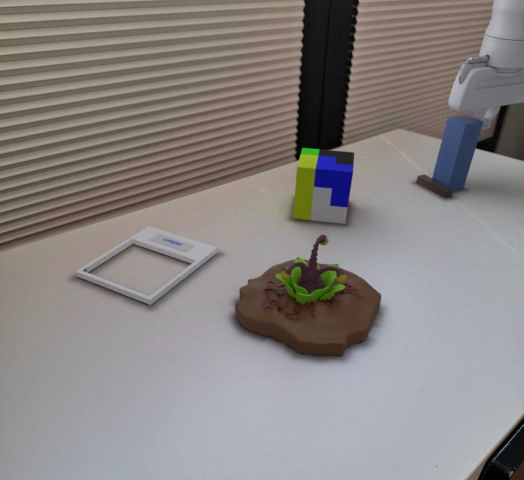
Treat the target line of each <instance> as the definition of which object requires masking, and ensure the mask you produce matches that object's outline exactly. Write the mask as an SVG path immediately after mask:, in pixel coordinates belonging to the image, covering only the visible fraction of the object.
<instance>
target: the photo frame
mask: <svg viewBox="0 0 524 480" xmlns="http://www.w3.org/2000/svg"><path fill="white" fill-rule="evenodd" d="M132 245H135V246H138V247H142V248H145V249H147V250H150V251H153V252H157V253H160V254H162V255H164V256H165V255H166V256H167V257H171V258H174V259H177V260H180V261H182V262H185V263H189V265H188V266H187V267H186V268H184V269H183V270H182V271H180V272H179V273H178V274H176V275H175V276H174V277H173V278H170V280H169V281H167V282H166V283H165V284H164V285H162V286H161V287H159V288H158V289H157V290H155V291H154V292H153V293H151V294H150V295H147V294H144V293H142V292H139V291H136V290H135V289H131V288H129V287H127V286H123V285H121V284H118V283H116V282H114V281H110V280H108V279H106V278H103V277H100V276H97V275H95V274H93V273H89V272H91V271H93V270H95V268H97V267H99V266H100V265H102V264H103V263H105V262H107V261H108V260H110V259H111V258H113V257H114V256H116V255H118V254H119V253H121V252H123V251H125V250H126V249H127V248H129V247H130V246H132ZM218 251H219V249H218V247H217V246H214V245H211V244H208V243H205V242H202V241H198V240H195V239H192V238H189V237H186V236H183V235H180V234H177V233H174V232H170V231H167V230H164V229H161V228H158V227H154V226H151V225H148V226H146V227H145V228H143V229H141V230H140V231H138V232H137V233H135V234H134V235H132V236H130V237H128V238H127V239H125V240H124V241H122V242H120V243H119V244H117V245H115V246H114V247H113V248H111V249H109V250H108V251H106V252H104V253H102V254H101V255H99V256H98V257H96V258H95V259H93V260H91V261H90V262H88V263H87V264H85V265H83V266H81V267H80V268H79V269H77V270H75V275H76V277H77V278H80V279H83V280H85V281H87V282H90V283H93V284H96V285H99V286H101V287H103V288H105V289H109V290H110V291H114V292H116V293H118V294H122V295H123V296H125V297H126V296H127V297H129V298H131V299H134V300H137V301H139V302H142V303H144V304H147V305H149V306H151V305H153V304H154V303H155V302H157V301H158V300H159V299H161V298H162V297H163V296H164V295H166V294H167V293H168V292H169V291H171V290H172V289H173V288H174V287H176V286H177V285H178V284H179V283H181V282H182V281H184V279H186V278H187V277H188V276H190V275H191V274H192V273H194V272H195V271H196V270H197V269H199V268H200V267H201V266H203V265H204V264H205V263H206V262H207V261H209V260H210V259H211V258H213V257H214V256H215V255H217V253H218Z"/></svg>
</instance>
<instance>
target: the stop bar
mask: <svg viewBox="0 0 524 480" xmlns="http://www.w3.org/2000/svg"><path fill="white" fill-rule="evenodd" d="M416 183H417V184H419V185H420V186H421V187H423V188H426V189H427V190H430V192H433V193H435V194H436V195H439V196H440V197H442V198H444V199H447V198H451V197H453V194H454V192H455V191H454V190H453V189H451V188H450V187H448V186H446V185H444V184H442V183H440V182H438V181H436V180H434V179H432V177H430V176H428V175H427V174H421V175H417V178H416Z"/></svg>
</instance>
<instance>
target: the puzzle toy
mask: <svg viewBox="0 0 524 480" xmlns="http://www.w3.org/2000/svg"><path fill="white" fill-rule="evenodd" d="M297 162H298V163H297V165H296V177H295V188H294V189H295V190H294V200H293V201H294V202H293V215H292V219H293V220H303V221H311V222H312V221H313V222H314V221H315V222H320V223H321V222H322V223H331V224H332V223H334V224H342V225H346V222H347V215H348V209H349V202H350V196H351V188H352V182H353V175H354V164H355V163H354V162H355V152H353V151H344V150H343V151H342V150H331V149H320V148H307V147H302V149H301V152H300V155H299V158H298V161H297Z"/></svg>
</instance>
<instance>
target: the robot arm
mask: <svg viewBox="0 0 524 480" xmlns="http://www.w3.org/2000/svg"><path fill="white" fill-rule="evenodd" d="M522 103H524V0H493V2H492V7H491V18H490V21H489V24H488V26H487V27H486V29H485V32H484V35H483V39H482V42H481V46H480V49H479V53H478V56H470V57H468V59H466V61H465V62H464V63H462V64H461V66H460V69H459V71H458V73H457V75H456V77H455V78H454V82H453V85H452V88H451V90H450V94H449V97H448V100H447V104H448V107H449V109H452V110H454V111H457V112H460V113H463V112H469V111H473V115H474V116H473V117H474V118H476V119H479V120H481V121H484V122H483V126H482V129H481V131H482V130H487V129H490V127H491V124H492V121H493V120H494V118H495V117H496V116H497V115H498V113H499V112H500V110H501V109H500V108H501V106H502V107H503V106H509V105H514V104H515V105H516V104H522Z"/></svg>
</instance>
